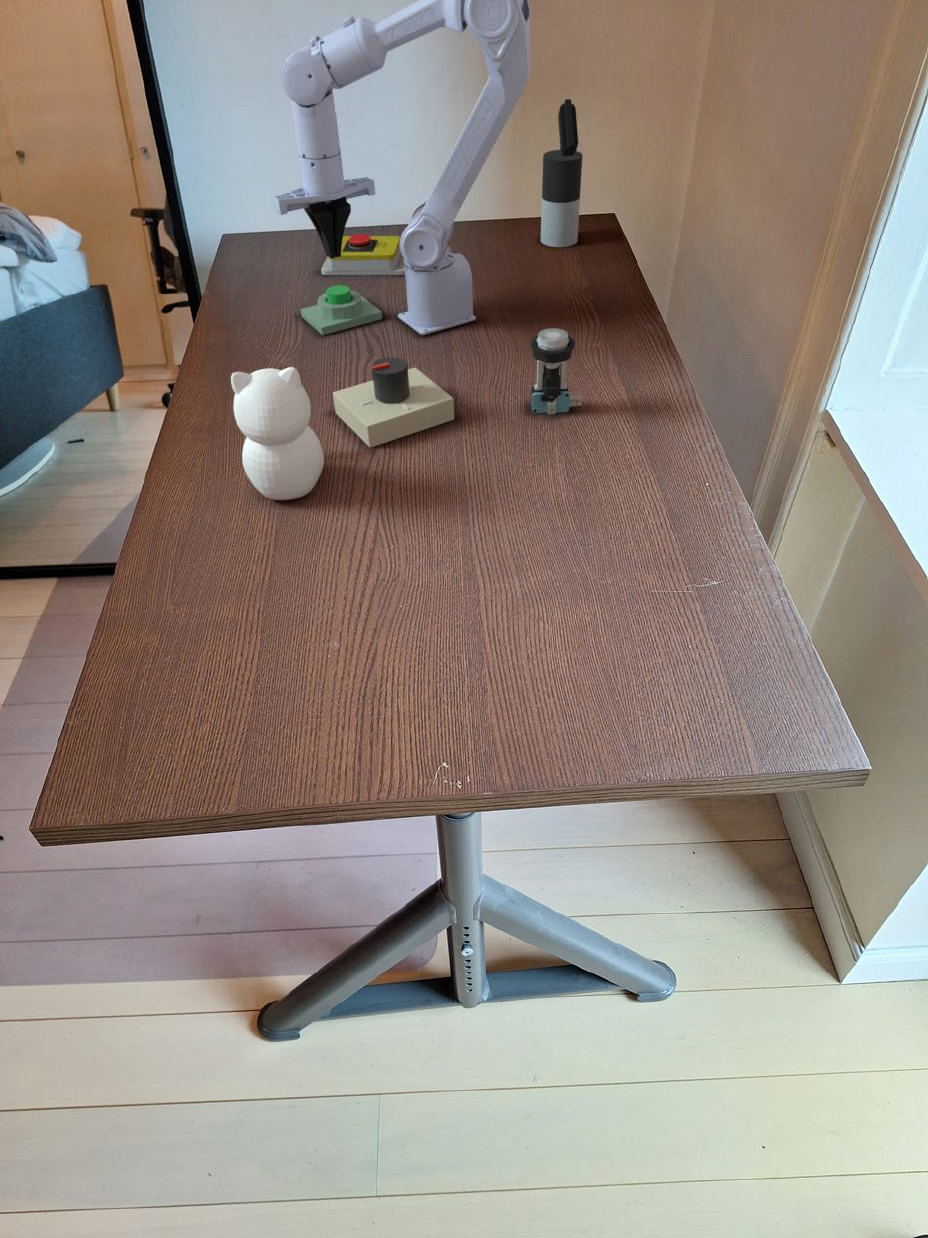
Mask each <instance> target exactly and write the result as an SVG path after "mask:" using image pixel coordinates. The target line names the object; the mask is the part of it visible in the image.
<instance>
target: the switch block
mask: <svg viewBox="0 0 928 1238" xmlns="http://www.w3.org/2000/svg"><path fill="white" fill-rule="evenodd" d="M350 293H351V301H350V302H349V303H345V304H337V305H334V304H329V303H328V301H327V294H326V292H324V293H323V294H322V295H319V296H318V298H317V302H316V303H317V304H315V305H312V306H308V307H304V308H300V315H301V318H302V319H304V320H305V321H306V322H307V323H308V324H309V325H310V326H311V327H312V328H314V329H315V330H316V331H317V332H318V333H319V334H321V336H325V335H329V334H333V333H336V332H337V333H338V332H340V331H344V330H347V329H350V328H354V327H359V326H362V325H366V324H370V323H373V322H376V321H380V320H382V319H383V312H382V310H381V309H379V308H378V307H377V306H375V305H374V304H372V303H371V302H370V301H369V300H367V299H366V298H365V297H364V296H362V295H361V294H360V293H358V292H357V291H353V290H350Z"/></svg>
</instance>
